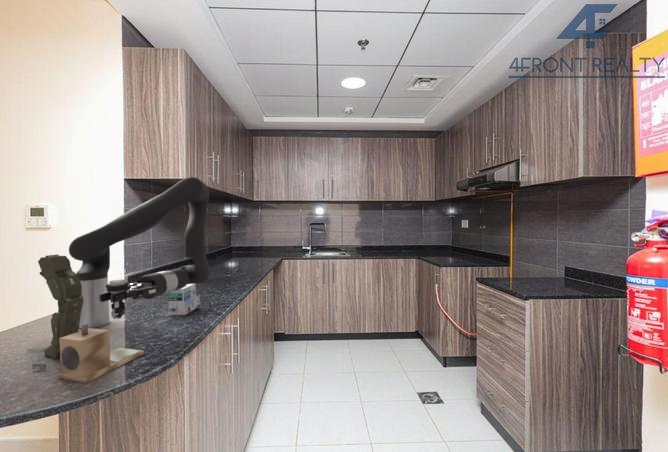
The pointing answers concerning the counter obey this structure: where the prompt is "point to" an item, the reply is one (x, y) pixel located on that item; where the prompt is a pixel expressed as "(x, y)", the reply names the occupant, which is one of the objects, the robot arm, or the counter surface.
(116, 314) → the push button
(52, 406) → the counter surface
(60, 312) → the mechanical leg
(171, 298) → the light bulb box
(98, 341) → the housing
